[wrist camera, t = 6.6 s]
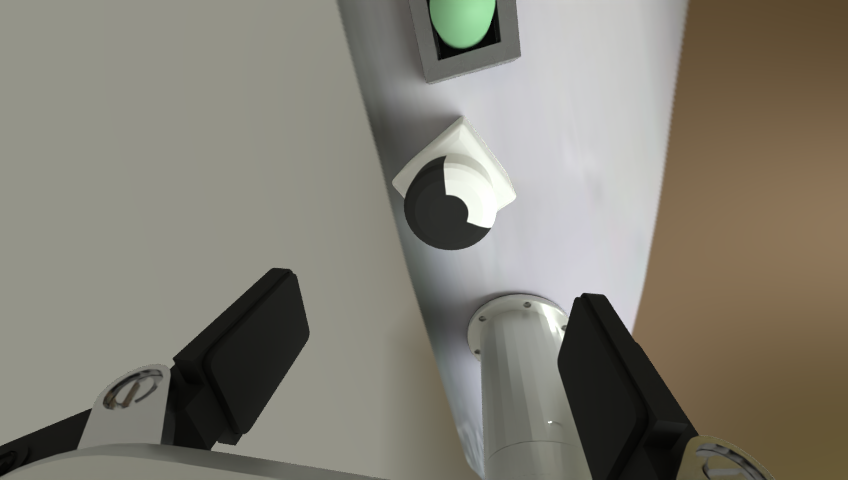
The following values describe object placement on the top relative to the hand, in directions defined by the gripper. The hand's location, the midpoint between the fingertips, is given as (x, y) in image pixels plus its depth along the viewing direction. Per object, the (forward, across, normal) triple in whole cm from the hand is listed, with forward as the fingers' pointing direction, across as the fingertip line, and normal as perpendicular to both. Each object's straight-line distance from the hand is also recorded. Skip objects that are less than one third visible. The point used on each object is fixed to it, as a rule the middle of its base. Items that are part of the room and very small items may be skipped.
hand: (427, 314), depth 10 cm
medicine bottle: (+22, 0, 0) cm, 22 cm away
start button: (+19, 0, -11) cm, 22 cm away
